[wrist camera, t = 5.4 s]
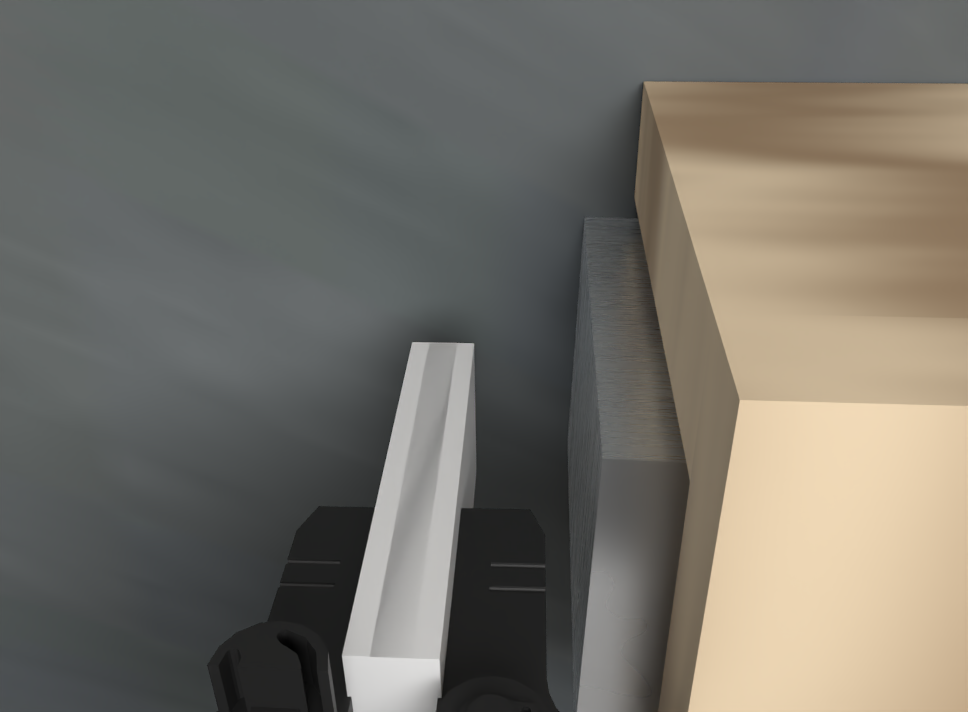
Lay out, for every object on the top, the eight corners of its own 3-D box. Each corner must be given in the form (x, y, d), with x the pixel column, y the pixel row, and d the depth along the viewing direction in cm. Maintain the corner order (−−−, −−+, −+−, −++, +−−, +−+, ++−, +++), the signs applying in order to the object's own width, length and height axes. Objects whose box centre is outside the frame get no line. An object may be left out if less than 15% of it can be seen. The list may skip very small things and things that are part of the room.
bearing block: (606, 547, 20) (638, 1009, 13) (643, 81, 15) (740, 400, 7) (884, 557, 20) (1090, 1037, 12) (1027, 83, 15) (1547, 421, 7)
